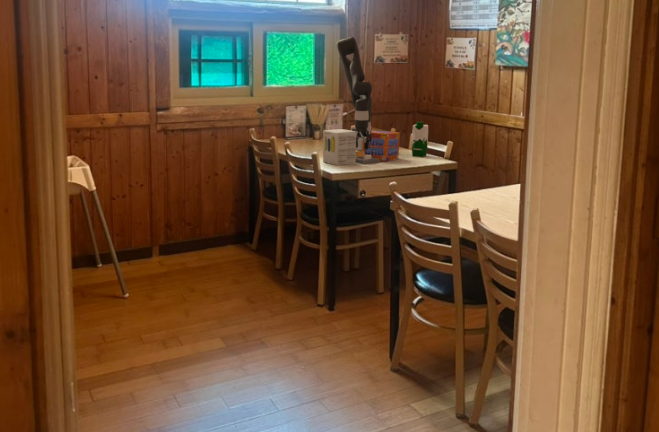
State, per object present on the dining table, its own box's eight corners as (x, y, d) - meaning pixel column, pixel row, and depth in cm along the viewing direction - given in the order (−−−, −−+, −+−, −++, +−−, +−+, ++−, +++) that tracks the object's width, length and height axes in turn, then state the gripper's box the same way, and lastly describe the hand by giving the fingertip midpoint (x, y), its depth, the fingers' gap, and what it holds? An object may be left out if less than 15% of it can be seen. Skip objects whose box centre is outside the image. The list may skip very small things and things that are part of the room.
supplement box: (322, 162, 390) (322, 130, 386) (341, 160, 398) (341, 128, 394) (337, 165, 380) (337, 132, 376) (356, 163, 388) (356, 131, 384)
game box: (361, 159, 401) (362, 131, 398) (374, 157, 414) (375, 130, 411) (386, 161, 393) (387, 133, 390) (398, 159, 406) (400, 132, 403)
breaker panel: (357, 158, 405) (357, 151, 404) (379, 162, 391) (379, 155, 390) (342, 159, 398) (342, 152, 397) (363, 164, 384) (364, 156, 384)
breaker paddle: (362, 156, 397) (361, 151, 397) (365, 155, 395) (364, 150, 395) (356, 157, 394) (354, 152, 394) (358, 156, 392) (357, 151, 392)
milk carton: (410, 156, 413) (411, 122, 408) (413, 154, 421) (415, 120, 417) (425, 157, 410) (426, 122, 406) (428, 155, 419) (429, 121, 414)
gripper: (375, 119, 386) (374, 149, 390) (358, 117, 397) (357, 146, 401) (365, 120, 382) (364, 150, 385) (348, 118, 392) (347, 147, 396)
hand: (361, 148), depth 393 cm, fingers open, 8 cm apart
